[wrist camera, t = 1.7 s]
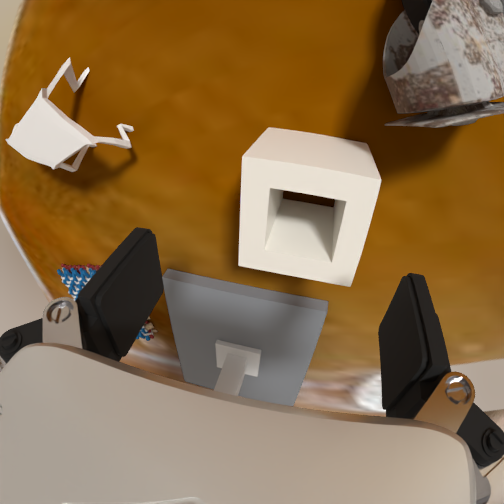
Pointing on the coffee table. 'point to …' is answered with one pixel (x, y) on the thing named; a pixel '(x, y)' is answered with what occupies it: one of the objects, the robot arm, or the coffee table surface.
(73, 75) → the origami figure
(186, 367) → the shaft block
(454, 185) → the coffee table surface
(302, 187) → the collar
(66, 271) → the woven mat
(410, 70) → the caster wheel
